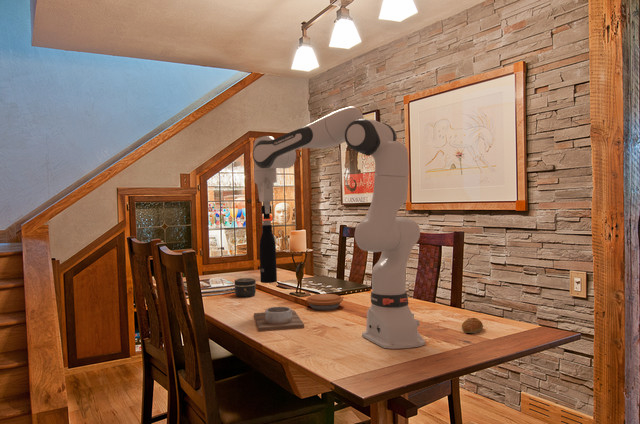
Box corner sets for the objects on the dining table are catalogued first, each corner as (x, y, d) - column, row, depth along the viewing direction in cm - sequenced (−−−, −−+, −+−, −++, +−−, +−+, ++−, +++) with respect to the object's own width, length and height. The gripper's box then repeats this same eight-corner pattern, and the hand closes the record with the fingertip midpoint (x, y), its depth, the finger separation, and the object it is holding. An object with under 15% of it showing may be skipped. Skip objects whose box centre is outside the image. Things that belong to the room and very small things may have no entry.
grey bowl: (293, 322, 173) (293, 311, 173) (266, 324, 171) (266, 313, 171) (289, 316, 182) (289, 305, 182) (264, 318, 180) (264, 307, 180)
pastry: (480, 336, 158) (480, 324, 157) (459, 334, 160) (458, 322, 160) (483, 328, 166) (483, 317, 166) (463, 327, 169) (463, 316, 169)
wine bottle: (278, 280, 193) (276, 205, 192) (275, 283, 186) (272, 205, 186) (262, 280, 193) (260, 205, 193) (258, 283, 187) (256, 205, 186)
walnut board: (304, 327, 171) (304, 324, 171) (258, 331, 167) (258, 327, 167) (294, 313, 192) (294, 310, 192) (253, 316, 189) (253, 313, 189)
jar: (235, 298, 223) (234, 282, 222) (234, 294, 232) (233, 278, 232) (257, 297, 225) (256, 280, 225) (254, 293, 235) (254, 277, 235)
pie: (299, 310, 198) (299, 297, 198) (316, 302, 212) (315, 290, 212) (334, 313, 192) (334, 300, 192) (348, 304, 206) (348, 293, 206)
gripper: (276, 176, 179) (277, 213, 180) (270, 179, 199) (271, 213, 200) (259, 176, 178) (260, 214, 178) (255, 180, 198) (256, 213, 198)
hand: (266, 213), depth 189 cm, fingers closed on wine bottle, 4 cm apart
